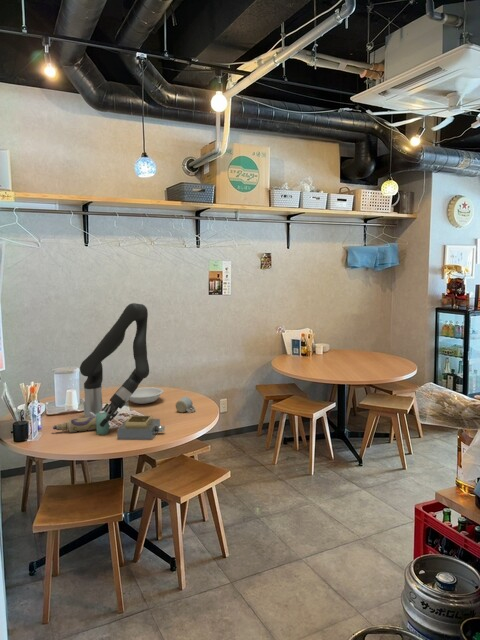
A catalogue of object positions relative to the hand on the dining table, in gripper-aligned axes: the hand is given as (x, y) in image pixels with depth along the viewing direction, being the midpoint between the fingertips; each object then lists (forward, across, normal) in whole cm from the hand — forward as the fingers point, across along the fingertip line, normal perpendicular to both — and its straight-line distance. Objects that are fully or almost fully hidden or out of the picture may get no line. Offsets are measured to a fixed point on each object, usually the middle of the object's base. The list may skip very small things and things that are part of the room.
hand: (99, 424), depth 233 cm
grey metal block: (-9, +13, +16) cm, 23 cm away
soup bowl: (-25, -40, +32) cm, 57 cm away
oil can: (+3, 0, +4) cm, 5 cm away
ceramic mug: (-33, -8, +40) cm, 53 cm away
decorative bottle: (+8, -11, 0) cm, 14 cm away
